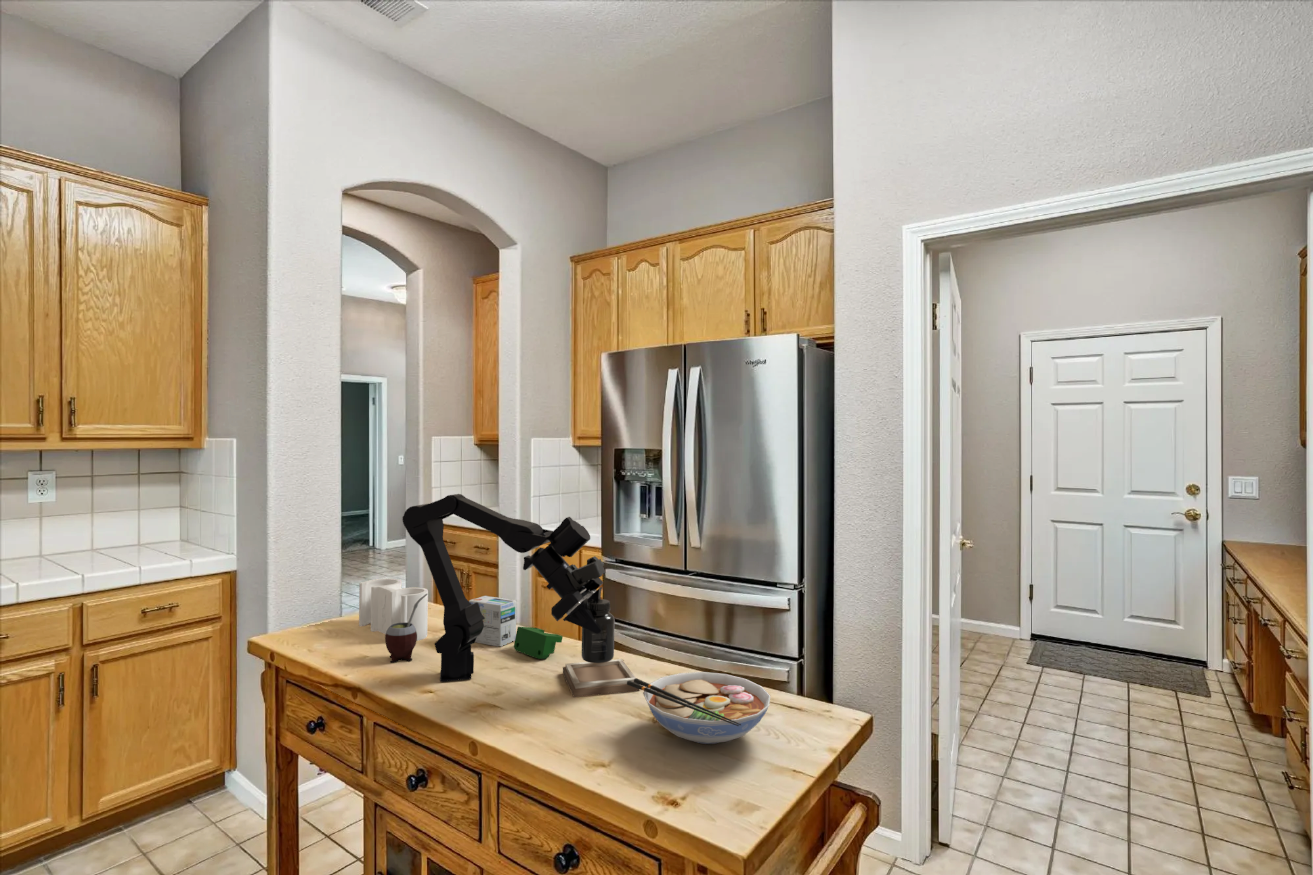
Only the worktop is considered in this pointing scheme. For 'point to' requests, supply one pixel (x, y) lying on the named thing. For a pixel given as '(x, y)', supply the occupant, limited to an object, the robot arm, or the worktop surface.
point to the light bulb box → (497, 620)
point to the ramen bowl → (705, 705)
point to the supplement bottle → (601, 644)
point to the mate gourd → (402, 639)
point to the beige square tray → (598, 678)
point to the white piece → (392, 605)
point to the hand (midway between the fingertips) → (604, 627)
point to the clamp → (535, 642)
